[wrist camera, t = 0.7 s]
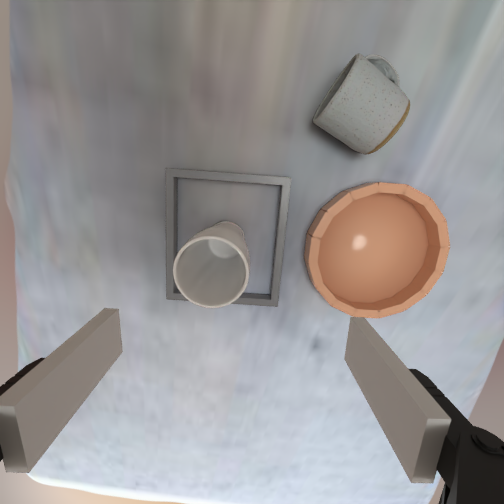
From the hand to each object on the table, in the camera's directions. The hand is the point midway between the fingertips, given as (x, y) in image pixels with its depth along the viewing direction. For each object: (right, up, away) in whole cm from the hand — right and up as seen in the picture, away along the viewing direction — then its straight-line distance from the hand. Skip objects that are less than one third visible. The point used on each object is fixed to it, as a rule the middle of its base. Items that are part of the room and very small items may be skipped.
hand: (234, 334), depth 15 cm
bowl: (+18, +5, +23) cm, 29 cm away
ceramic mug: (+14, +23, +18) cm, 33 cm away
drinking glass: (-3, +6, +22) cm, 23 cm away
